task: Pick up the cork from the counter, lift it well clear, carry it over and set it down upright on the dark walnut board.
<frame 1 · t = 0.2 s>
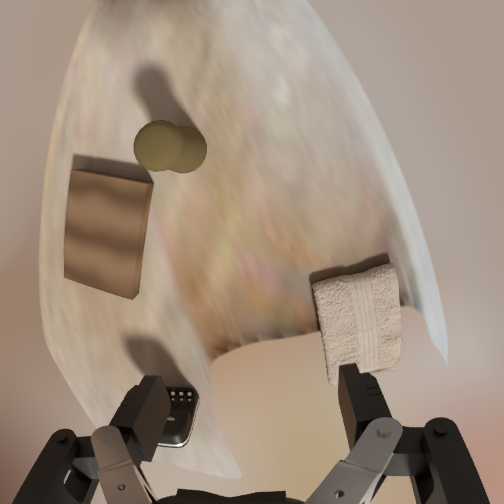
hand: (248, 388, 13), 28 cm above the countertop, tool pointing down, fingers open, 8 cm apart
battery charger: (180, 391, 48), on the countertop
cork: (184, 150, 38), on the countertop
washcloth: (357, 325, 44), on the countertop
walnut board: (107, 231, 41), on the countertop
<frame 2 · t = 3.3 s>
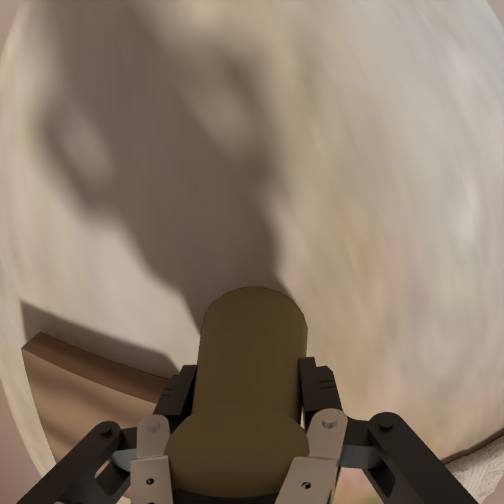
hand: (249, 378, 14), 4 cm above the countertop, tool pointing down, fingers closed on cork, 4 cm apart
cork: (254, 334, 18), on the countertop, touching gripper
washcloth: (453, 484, 23), on the countertop
walnut board: (112, 430, 21), on the countertop
when the fingers open (8 cm above the countertop, at t = 9.7 s): cork drops 1 cm, resting on walnut board.
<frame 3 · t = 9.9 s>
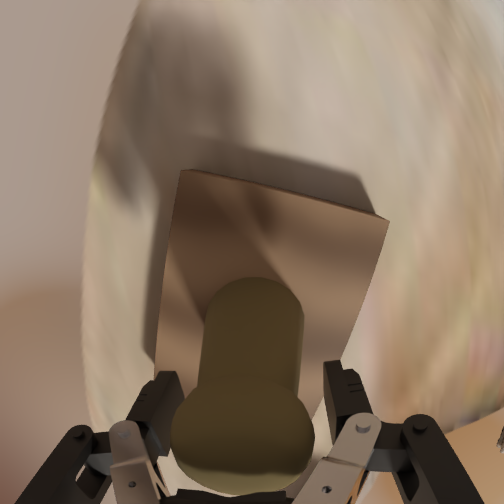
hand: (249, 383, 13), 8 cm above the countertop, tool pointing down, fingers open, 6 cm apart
cork: (255, 321, 19), point 2 cm above the countertop, touching walnut board
walnut board: (257, 306, 21), on the countertop
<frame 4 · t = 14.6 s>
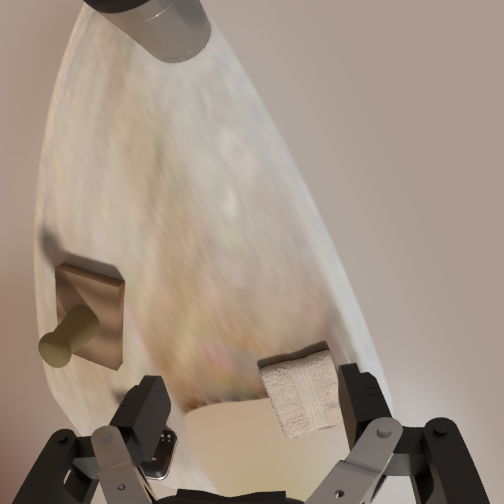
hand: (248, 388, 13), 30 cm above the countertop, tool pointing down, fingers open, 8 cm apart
battery charger: (162, 432, 54), on the countertop
cork: (85, 320, 45), point 2 cm above the countertop, touching walnut board
washcloth: (306, 393, 50), on the countertop
walnut board: (92, 315, 47), on the countertop
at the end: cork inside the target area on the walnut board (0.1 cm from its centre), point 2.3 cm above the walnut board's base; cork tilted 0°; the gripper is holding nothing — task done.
